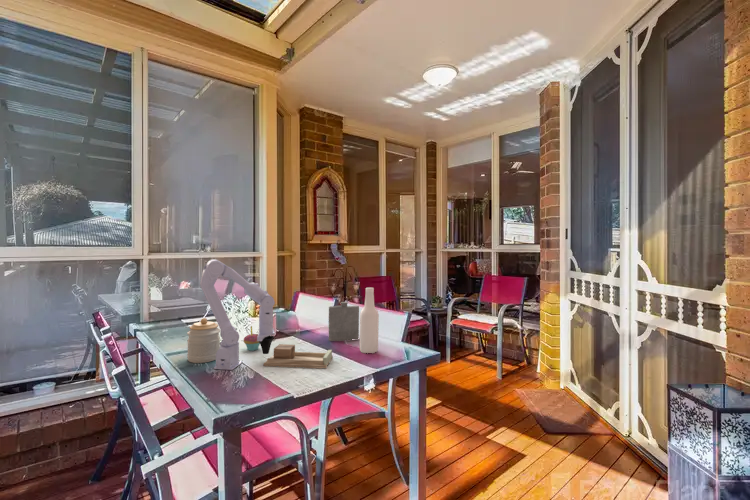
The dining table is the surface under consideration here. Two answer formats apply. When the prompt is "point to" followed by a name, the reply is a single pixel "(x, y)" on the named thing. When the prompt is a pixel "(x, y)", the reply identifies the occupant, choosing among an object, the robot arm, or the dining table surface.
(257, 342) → the cupcake
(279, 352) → the block
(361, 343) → the alcohol
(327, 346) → the dining table surface
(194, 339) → the jar
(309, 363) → the bay
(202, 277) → the robot arm
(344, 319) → the hip flask
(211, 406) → the dining table surface
